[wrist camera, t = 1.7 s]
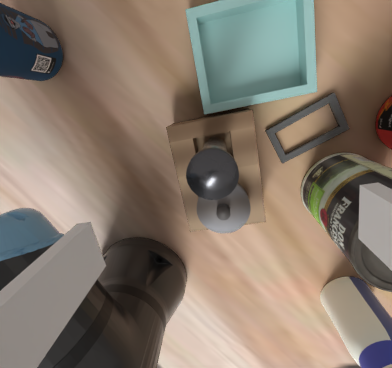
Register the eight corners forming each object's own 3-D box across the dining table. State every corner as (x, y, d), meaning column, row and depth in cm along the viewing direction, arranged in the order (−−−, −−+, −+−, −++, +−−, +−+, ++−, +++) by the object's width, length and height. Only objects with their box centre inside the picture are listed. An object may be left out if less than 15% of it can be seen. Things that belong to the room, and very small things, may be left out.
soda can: (9, 59, 32) (-106, 37, 21) (28, 8, 30) (-89, -48, 18) (55, 92, 33) (-32, 88, 21) (77, 45, 30) (-7, 13, 19)
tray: (205, 113, 32) (204, 114, 29) (188, 18, 28) (185, 9, 26) (307, 92, 30) (317, 91, 27) (302, -12, 26) (312, -25, 24)
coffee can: (301, 224, 36) (349, 297, 23) (299, 157, 33) (354, 197, 19) (375, 217, 34) (474, 290, 21) (381, 146, 31) (501, 181, 18)
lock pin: (201, 167, 32) (191, 203, 21) (194, 134, 31) (181, 154, 20) (234, 161, 32) (242, 196, 20) (228, 128, 30) (234, 145, 19)
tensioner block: (259, 205, 35) (271, 235, 28) (193, 215, 37) (187, 245, 29) (247, 108, 31) (257, 111, 23) (173, 123, 33) (159, 130, 25)
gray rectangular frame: (281, 162, 33) (282, 163, 32) (265, 130, 32) (266, 131, 31) (347, 128, 31) (349, 128, 30) (332, 92, 30) (334, 92, 29)
